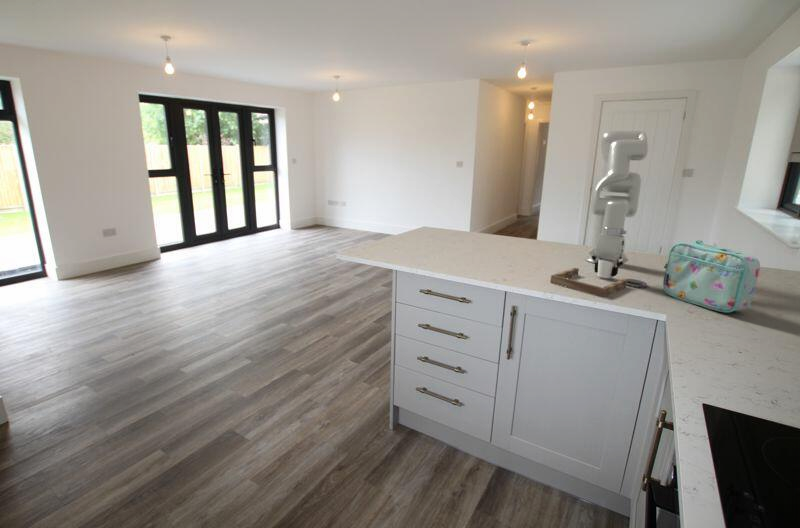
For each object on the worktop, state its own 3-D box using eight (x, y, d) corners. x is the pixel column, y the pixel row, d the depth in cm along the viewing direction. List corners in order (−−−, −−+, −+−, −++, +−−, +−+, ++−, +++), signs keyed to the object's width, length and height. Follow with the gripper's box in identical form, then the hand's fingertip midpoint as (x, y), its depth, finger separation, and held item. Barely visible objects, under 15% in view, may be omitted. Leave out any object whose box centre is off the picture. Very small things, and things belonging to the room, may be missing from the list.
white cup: (616, 279, 165) (619, 262, 164) (598, 277, 167) (600, 261, 165) (611, 274, 172) (614, 258, 170) (594, 273, 173) (596, 257, 171)
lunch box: (654, 292, 153) (665, 236, 148) (672, 289, 157) (684, 235, 151) (731, 319, 129) (748, 254, 124) (751, 315, 133) (768, 251, 127)
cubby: (574, 274, 174) (575, 267, 173) (625, 287, 159) (627, 279, 158) (550, 282, 162) (551, 275, 161) (603, 297, 146) (604, 289, 146)
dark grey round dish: (626, 279, 168) (626, 277, 168) (650, 285, 161) (650, 282, 161) (617, 283, 162) (617, 281, 162) (641, 289, 156) (641, 287, 156)
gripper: (638, 234, 160) (630, 277, 165) (595, 227, 173) (589, 267, 178) (631, 236, 156) (623, 280, 160) (586, 229, 168) (580, 270, 173)
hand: (605, 273), depth 169 cm, fingers closed on white cup, 6 cm apart
